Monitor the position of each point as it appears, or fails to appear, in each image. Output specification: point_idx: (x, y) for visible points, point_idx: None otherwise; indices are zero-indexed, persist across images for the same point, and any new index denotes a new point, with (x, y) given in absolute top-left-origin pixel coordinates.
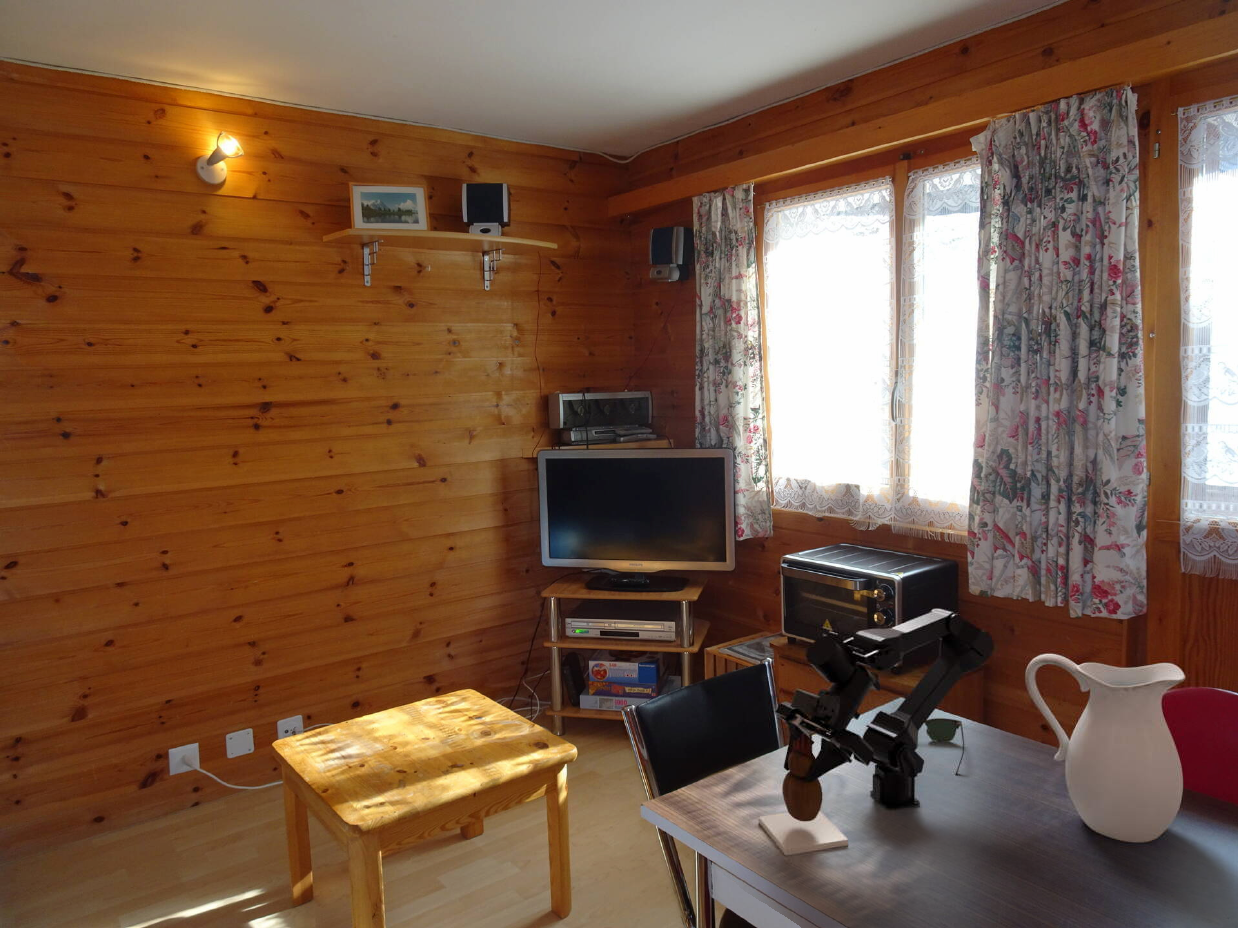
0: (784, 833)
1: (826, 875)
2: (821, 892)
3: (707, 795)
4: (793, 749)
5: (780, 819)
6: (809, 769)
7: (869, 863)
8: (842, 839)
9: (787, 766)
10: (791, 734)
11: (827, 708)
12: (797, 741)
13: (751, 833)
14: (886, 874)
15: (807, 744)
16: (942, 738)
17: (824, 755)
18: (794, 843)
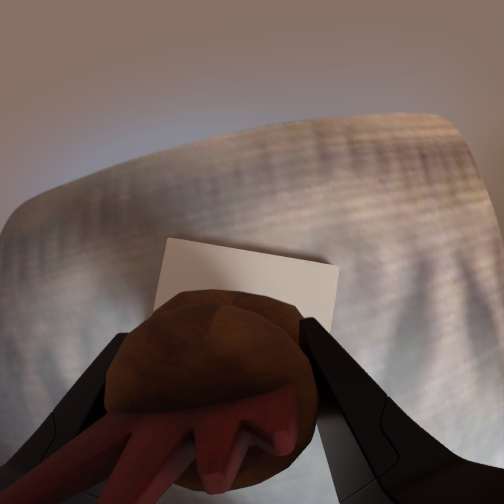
0: (234, 279)
1: (78, 273)
2: (50, 229)
3: (470, 228)
4: (280, 392)
5: (302, 312)
6: None
7: (76, 379)
8: None
9: (301, 336)
10: (443, 469)
11: None
12: (224, 446)
13: (295, 222)
14: (43, 374)
15: (77, 458)
16: None
17: (18, 454)
18: (180, 273)
